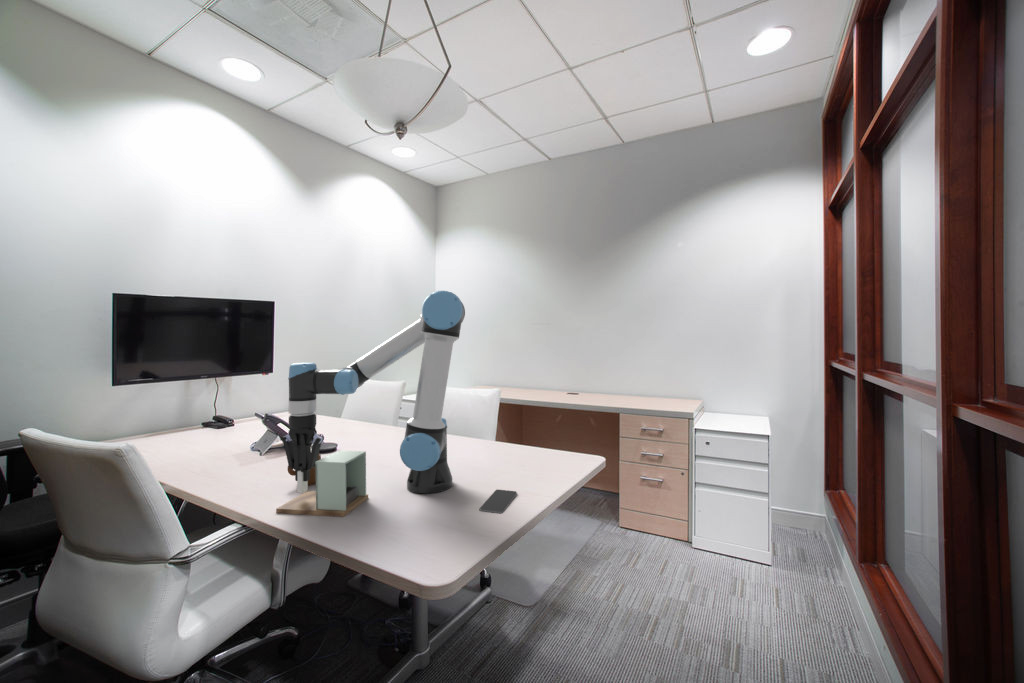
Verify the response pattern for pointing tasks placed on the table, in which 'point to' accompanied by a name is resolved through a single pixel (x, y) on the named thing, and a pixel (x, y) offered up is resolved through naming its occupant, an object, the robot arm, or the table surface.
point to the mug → (312, 473)
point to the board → (308, 507)
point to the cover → (339, 478)
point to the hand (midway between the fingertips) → (302, 491)
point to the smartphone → (498, 501)
